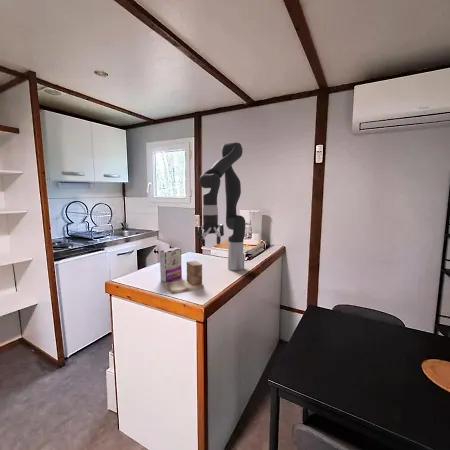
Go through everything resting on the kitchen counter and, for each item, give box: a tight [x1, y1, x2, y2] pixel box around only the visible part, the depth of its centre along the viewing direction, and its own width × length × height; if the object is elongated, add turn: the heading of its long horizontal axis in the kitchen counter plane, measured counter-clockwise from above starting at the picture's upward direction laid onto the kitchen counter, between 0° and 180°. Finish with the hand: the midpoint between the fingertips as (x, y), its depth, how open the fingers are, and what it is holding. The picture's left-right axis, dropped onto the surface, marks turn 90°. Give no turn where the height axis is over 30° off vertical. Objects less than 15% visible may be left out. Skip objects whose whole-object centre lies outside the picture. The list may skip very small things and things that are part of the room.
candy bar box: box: [159, 246, 183, 283], centre depth 137 cm, size 11×5×16 cm, turn 143°
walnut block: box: [186, 260, 203, 286], centre depth 129 cm, size 5×8×10 cm, turn 30°
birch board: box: [164, 279, 205, 294], centre depth 127 cm, size 16×12×1 cm
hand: (210, 245), depth 132 cm, fingers open, 8 cm apart
